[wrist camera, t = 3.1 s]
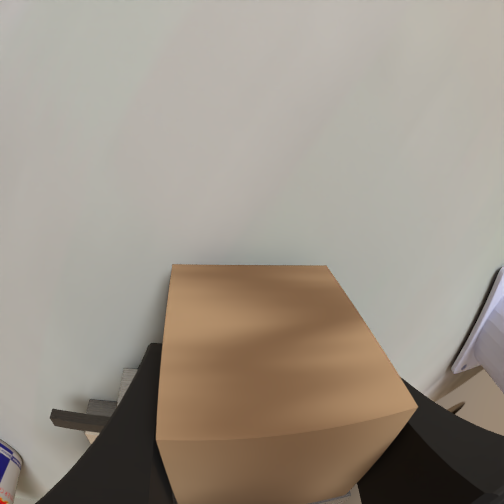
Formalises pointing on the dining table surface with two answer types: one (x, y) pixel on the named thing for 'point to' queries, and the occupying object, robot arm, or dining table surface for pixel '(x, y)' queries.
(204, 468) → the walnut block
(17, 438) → the dining table surface
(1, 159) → the dining table surface
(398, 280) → the dining table surface
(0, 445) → the energy drink
